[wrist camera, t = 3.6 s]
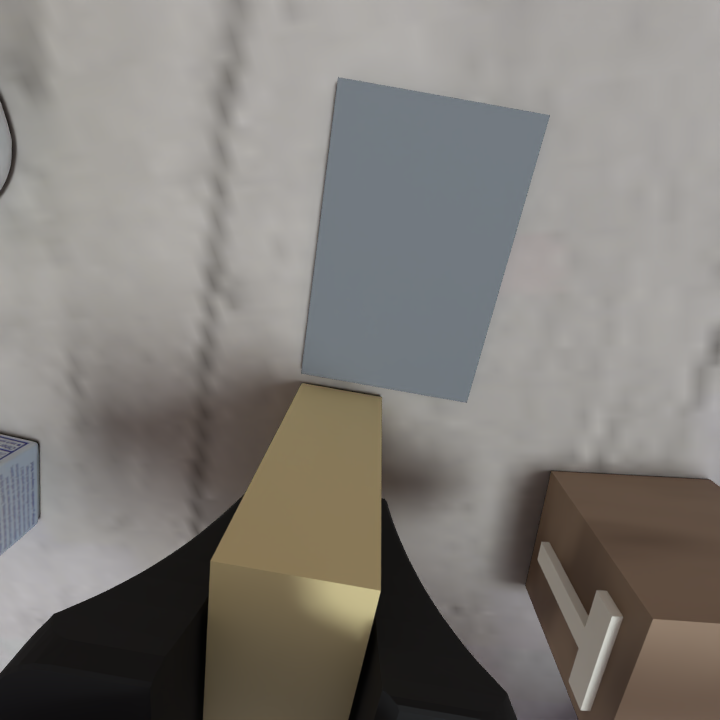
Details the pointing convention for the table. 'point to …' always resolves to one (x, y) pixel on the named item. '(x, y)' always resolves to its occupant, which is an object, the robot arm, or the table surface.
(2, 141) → the supplement bottle
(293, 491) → the cream rectangular block
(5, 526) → the medicine box
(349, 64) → the table surface
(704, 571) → the letter cube
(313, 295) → the mat
